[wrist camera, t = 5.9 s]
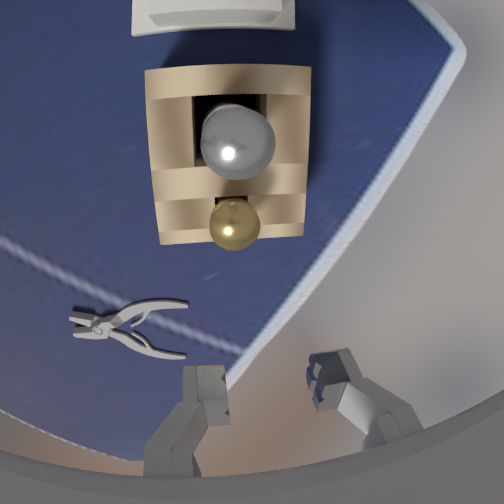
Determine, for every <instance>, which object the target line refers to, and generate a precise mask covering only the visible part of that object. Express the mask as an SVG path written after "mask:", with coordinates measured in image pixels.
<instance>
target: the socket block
mask: <svg viewBox="0 0 504 504" xmlns="http://www.w3.org/2000/svg"><path fill="white" fill-rule="evenodd" d="M145 93H146V112H147V128H148V141H149V153H150V164H151V174H152V183H153V192H154V200H155V208H156V216H157V223H158V230H159V237H160V244H161V245H168V244H181V243H196V242H210V241H214V240H213V239H212V237H211V234H210V227H209V219H210V214H211V212H212V210H213V209H214V207H215V206H216V205H217V204H215V197H228V196H243V197H244V200H246V201H247V202H249V203H250V204H251V205H252V206H253V207H254V208H255V210H256V212H257V214H258V217H259V220H260V225H261V227H260V233H259V235H258V237H257V238H272V237H288V236H303V230H304V217H305V203H306V188H307V171H308V152H309V129H310V99H311V67H307V66H293V65H275V64H214V65H195V66H182V67H171V68H161V69H153V70H145ZM220 94H256V112H258V113H259V114H261V115H262V116H263V117H265V118H266V119H267V121H268V122H269V123H270V125H271V126H272V128H273V131H274V134H275V139H276V147H275V152H274V155H273V158H272V160H271V162H270V163H269V164H268V166H267V167H266V168H265V169H264V170H263V171H262V172H260V173H259V174H257V175H255V176H253V177H251V178H248V179H243V180H232V179H227V178H224V177H221V176H219V175H218V174H216V173H215V172H213V171H212V170H211V169H210V168H209V167H208V165H207V164H206V162H205V161H204V158H203V156H202V153H197V150H196V128H195V99H194V96H200V95H220Z"/></svg>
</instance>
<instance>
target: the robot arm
mask: <svg viewBox="0 0 504 504" xmlns="http://www.w3.org/2000/svg"><path fill="white" fill-rule="evenodd" d="M309 363H310V366H309V367H308V368H307V373H306V375H307V376H306V377H307V384H308V387H309V390H310V391H311V392H313V393H314V394H313V398H312V400H313V403H314V406H315V409H316V412H321V411H327V410H332V409H337V410H338V411H339V412H340V413H342V414H343V415H344V416H345V417H346V418H347V419H349V420H350V421H351V422H352V423H353V424H354V425H356V426H357V427H358V428H359V429H360V430H362V431H363V432H364V433H365V434H366V435H367V436H366V438H365V440H364V441H363V443H362V444H361V446H360V450H361V452H357V453H354V454H350V455H346V456H342V457H339V458H334V459H331V460H327V461H322V462H317V463H313V464H308V465H303V466H298V467H292V468H286V469H280V470H273V471H267V472H259V473H250V474H240V475H229V476H214V477H202V474H201V471H200V468H199V466H198V464H197V461H196V459H195V457H194V454H193V453H194V451H195V450H196V448H197V446H198V444H199V443H200V441H201V439H202V438H203V436H204V434H205V433H206V431H207V429H208V426H219V425H229V424H230V416H229V407H228V398H227V388H226V379H225V370H224V365H206V366H184V367H183V378H182V402H179V403H178V404H177V405H176V406H175V408H174V409H173V410H172V411H171V413H170V414H169V415H168V417H167V418H166V419H165V420H164V422H163V423H162V424H161V425H160V427H159V428H158V429H157V431H156V432H155V433H154V434H153V436H152V437H151V438H150V439H149V441H148V442H147V443H146V444H145V452H144V473H143V474H144V475H143V476H130V475H118V474H109V473H101V472H92V471H87V470H80V469H75V468H69V467H64V466H59V465H54V464H50V463H45V462H40V461H37V460H33V459H29V458H25V457H22V456H18V455H15V454H12V453H9V452H5V451H2V450H0V504H504V390H502V391H500V392H499V393H497V394H495V395H494V396H492V397H490V398H488V399H486V400H485V401H483V402H481V403H479V404H477V405H475V406H473V407H471V408H469V409H468V410H465V411H463V412H462V413H459V414H457V415H455V416H453V417H451V418H449V419H447V420H445V421H443V422H440V423H438V424H436V425H434V426H431V427H429V428H426V429H423V427H422V425H421V423H420V421H419V419H418V417H417V415H416V413H415V411H414V409H413V408H412V406H411V405H410V404H408V403H407V402H405V401H404V400H402V399H400V398H399V397H397V396H395V395H394V394H392V393H391V392H389V391H387V390H385V389H384V388H383V387H381V386H379V385H378V384H376V383H375V382H373V381H371V380H370V379H368V378H363V377H362V374H361V372H360V370H359V368H358V366H357V364H356V362H355V360H354V358H353V356H352V354H351V352H350V350H349V349H348V348H345V349H340V350H332V351H327V352H321V353H315V354H311V355H310V356H309Z"/></svg>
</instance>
